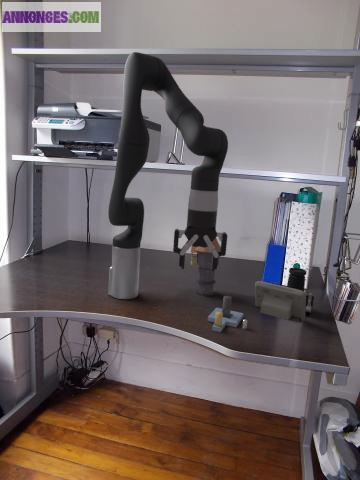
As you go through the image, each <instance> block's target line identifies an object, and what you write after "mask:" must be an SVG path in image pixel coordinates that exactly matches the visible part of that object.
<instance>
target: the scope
mask: <svg viewBox="0 0 360 480" xmlns="http://www.w3.org/2000/svg"><path fill="white" fill-rule="evenodd" d="M288 273H289V274H288V279H287V284H286V287H288V288H293V289H297V290H301V291H304V292H305V286H306V285H305V284H306V275H307V270H305V269H304V268H300V267H289V269H288ZM314 299H315V296H314V295H313V293H308V295H307V294H306V310H305V317H306V316H308V317H311V316H312V312H313V306H314V304H315V301H314Z"/></svg>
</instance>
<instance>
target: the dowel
mask: <svg viewBox="0 0 360 480" xmlns="http://www.w3.org/2000/svg"><path fill="white" fill-rule="evenodd" d="M247 326H248V319H246V318H242V326H241V328H242V330H247V328H248V327H247Z"/></svg>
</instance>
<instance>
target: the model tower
mask: <svg viewBox="0 0 360 480" xmlns="http://www.w3.org/2000/svg"><path fill="white" fill-rule="evenodd" d="M212 243H213V245H214V247H215V249H216V251H220V248H221V244H220V243H219V241H218V239H217V237H216V238H215V239H214V240H213V242H212ZM190 253H191V258H190V259H191V261H190V265H191V267H193V268H198V269H197V270H198V271H197V278H196V279H195V282H196V283H197V286H196V289H197V290H196V292H197V295H200V296H204V297H211V296H213V295H215V293H213V291H214V285H215V283H217V281H216V280H215V273H216V269H215V270H214V271H211V264H212V256H213V254H212V252H211V250H210V248H209V247H206V248H204V247H194V246H191V247H190ZM194 254H196V255H194ZM219 265H220V257H219V258H218V264H217V267H218V266H219Z"/></svg>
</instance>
